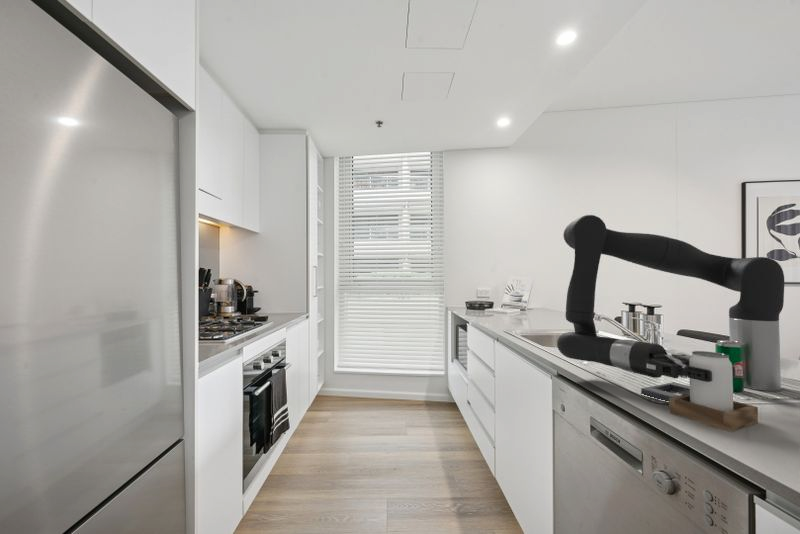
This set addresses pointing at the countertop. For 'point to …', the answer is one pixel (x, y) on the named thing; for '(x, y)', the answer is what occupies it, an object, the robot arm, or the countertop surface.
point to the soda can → (733, 360)
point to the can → (719, 388)
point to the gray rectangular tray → (660, 390)
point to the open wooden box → (714, 413)
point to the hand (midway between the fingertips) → (723, 374)
